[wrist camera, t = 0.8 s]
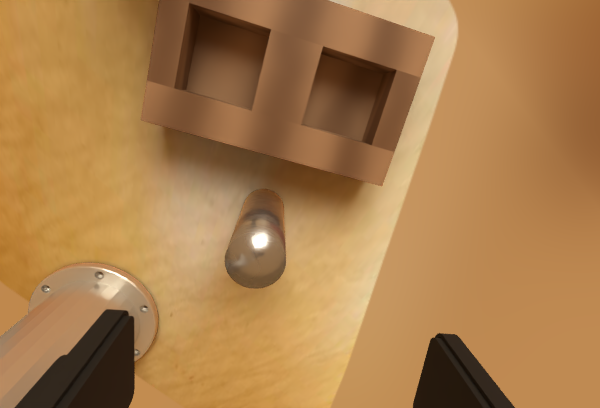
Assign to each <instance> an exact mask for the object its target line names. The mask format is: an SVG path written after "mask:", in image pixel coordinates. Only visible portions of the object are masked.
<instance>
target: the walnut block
mask: <svg viewBox="0 0 600 408" xmlns="http://www.w3.org/2000/svg"><path fill="white" fill-rule="evenodd" d="M434 39H435V37H433V36H430V35H428V34H425V33H422V32H419V31H416V30H413V29H410V28H407V27H404V26H401V25H398V24H395V23H393V22H390V21H387V20H384V19H381V18H378V17H375V16H372V15H369V14H366V13H363V12H360V11H358V10H355V9H352V8H349V7H346V6H343V5H340V4H337V3H334V2H331V1H328V0H160V1H159V7H158V13H157V20H156V26H155V33H154V39H153V45H152V52H151V58H150V65H149V71H148V78H147V84H146V90H145V97H144V103H143V110H142V116H141V120H142V121H145V122H149V123H153V124H156V125H160V126H164V127H167V128H171V129H175V130H178V131H182V132H185V133H189V134H193V135H196V136H200V137H204V138H207V139H211V140H215V141H218V142H222V143H226V144H229V145H233V146H237V147H240V148H244V149H248V150H251V151H255V152H259V153H262V154H266V155H270V156H273V157H277V158H280V159H284V160H288V161H291V162H295V163H299V164H302V165H306V166H310V167H313V168H317V169H321V170H324V171H328V172H332V173H335V174H339V175H343V176H346V177H350V178H354V179H357V180H361V181H365V182H368V183H372V184H375V185H379V186H382V185H383V182H384V179H385V177H386V174H387V171H388V168H389V165H390V163H391V160H392V157H393V154H394V151H395V148H396V146H397V143H398V140H399V137H400V134H401V132H402V129H403V126H404V123H405V120H406V118H407V115H408V112H409V109H410V106H411V103H412V101H413V98H414V95H415V92H416V89H417V87H418V84H419V81H420V78H421V75H422V73H423V70H424V67H425V64H426V61H427V58H428V56H429V53H430V50H431V47H432V44H433V42H434Z"/></svg>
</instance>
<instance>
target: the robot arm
mask: <svg viewBox="0 0 600 408" xmlns="http://www.w3.org/2000/svg"><path fill="white" fill-rule="evenodd" d="M157 328H158V313H157V309H156V305H155V303H154V301H153V299H152V297H151V295H150V293H149V292H148V291H147V290H146V288H145V287H144V286H143V285H142V284H141V283H140V282H139V281H138V280H137V279H136V278H134V277H133V276H131V275H129V274H128V273H126V272H125V271H122V270H120V269H118V268H116V267H113V266H109V265H105V264H101V263H90V262H88V263H76V264H73V265H69V266H65V267H63V268H61V269H59V270H57V271H55V272H54V273H52V274H51V275H49V276H48V277H46V278H45V279H44V280H43V281H42V282H41V283H40V284H39V285H38V286H37V288H36V289H35V291H34V292H33V294H32V296H31V299H30V302H29V309H28V314H27V315H26V316H25V317H23V318H22V319H21V320H20V321H19V322H17V323H16V324H15V325H14V326H13V327H11V328H10V329H9V330H8V331H7V332H5V333H4V334H3V335H2V336H0V408H128V407H129V405H130V403H131V401H132V398H133V394H134V362H135V361H137V360H138V359H140V358H141V357H142V356H143V355H144V354H145V353H146V352H147V350H148V349H149V347H150V345H151V344H152V342H153V340H154V338H155V335H156V333H157ZM413 408H515V407H514V406H513V405H512V404H511V402H510V401H509V400H508V399H507V398H506V396H505V395H504V393H503V392H502V391H501V390H500V388H499V387H498V386H497V385H496V383H495V382H494V381H493V380H492V378H491V377H490V376H489V374H488V373H487V372H486V371H485V369H484V368H483V367H482V366H481V364H480V363H479V362H478V361H477V359H476V358H475V357H474V355H473V354H472V353H471V352H470V351H469V349H468V348H467V347H466V345H465V344H464V343H463V342H462V340H461V339H460V338H459V337H458V336H457V335H455V334H440V333H439V334H437V335H436V336H435V338H432V339H431V340H430V344H429V347H428V351H427V355H426V358H425V362H424V366H423V370H422V373H421V377H420V381H419V384H418V388H417V392H416V395H415V399H414V403H413Z"/></svg>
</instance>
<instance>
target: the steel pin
mask: <svg viewBox="0 0 600 408" xmlns="http://www.w3.org/2000/svg"><path fill="white" fill-rule="evenodd" d="M285 265H286V252H285V227H284V205H283V202H282V200H281V198H280V197H279V195H278V194H276V193H275V192H273V191H271V190H268V189H259V190H256V191H253V192H252V193H251V194H249V195H248V197H247V198H246V200H245V202H244V205H243V208H242V210H241V213H240V216H239V219H238V221H237V224H236V227H235V230H234V232H233V235H232V238H231V241H230V243H229V246H228V249H227V252H226V255H225V266H226V270H227V272H228V274H229V275H230V277H231V278H232V279H233V280H234V281H235V282H237V283H238V284H240V285H242V286H244V287H248V288H264V287H267V286H269V285H271V284H273V283H274V282H276V281H277V280H278V279H279V278H280V277H281V275H282V274H283V272H284V269H285Z"/></svg>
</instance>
